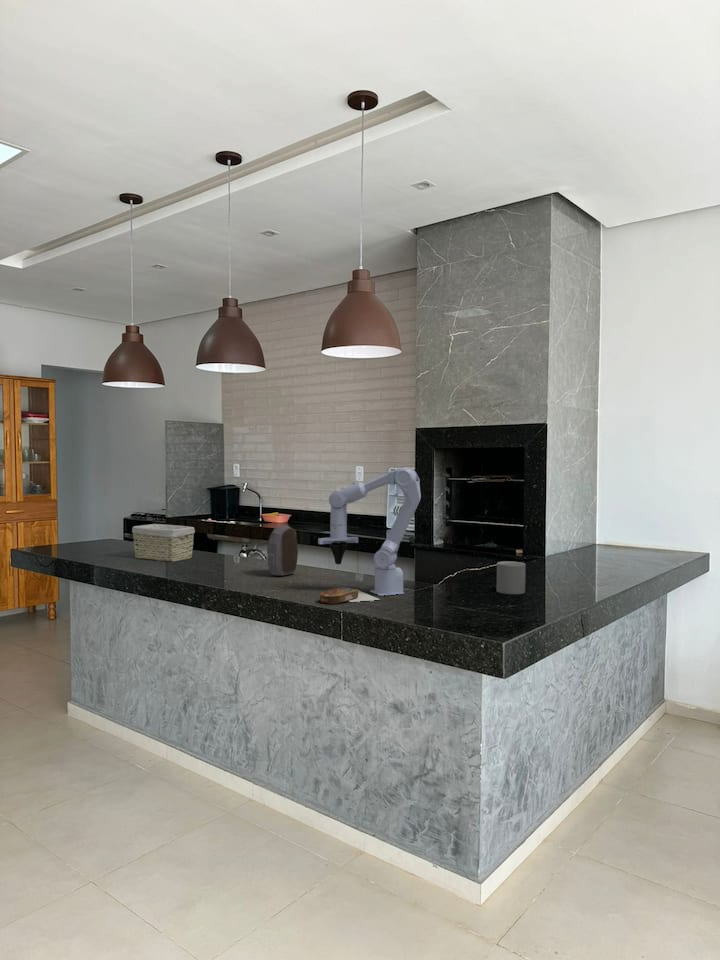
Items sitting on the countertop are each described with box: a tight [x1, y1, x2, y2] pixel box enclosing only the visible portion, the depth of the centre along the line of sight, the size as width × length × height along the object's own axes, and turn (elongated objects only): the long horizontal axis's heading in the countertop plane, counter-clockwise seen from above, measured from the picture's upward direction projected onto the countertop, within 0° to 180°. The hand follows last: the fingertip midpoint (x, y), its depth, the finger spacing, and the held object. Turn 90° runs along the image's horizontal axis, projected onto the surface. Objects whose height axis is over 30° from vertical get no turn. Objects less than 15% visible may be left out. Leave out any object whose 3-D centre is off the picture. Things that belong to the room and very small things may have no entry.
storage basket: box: [131, 523, 196, 563], centre depth 319 cm, size 24×16×15 cm
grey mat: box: [348, 589, 381, 603], centre depth 238 cm, size 10×20×1 cm, turn 25°
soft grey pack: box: [266, 524, 299, 577], centre depth 279 cm, size 15×8×20 cm, turn 150°
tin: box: [319, 586, 359, 605], centre depth 231 cm, size 15×3×8 cm
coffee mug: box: [495, 560, 526, 595], centre depth 252 cm, size 13×10×10 cm
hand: (338, 563), depth 248 cm, fingers closed
